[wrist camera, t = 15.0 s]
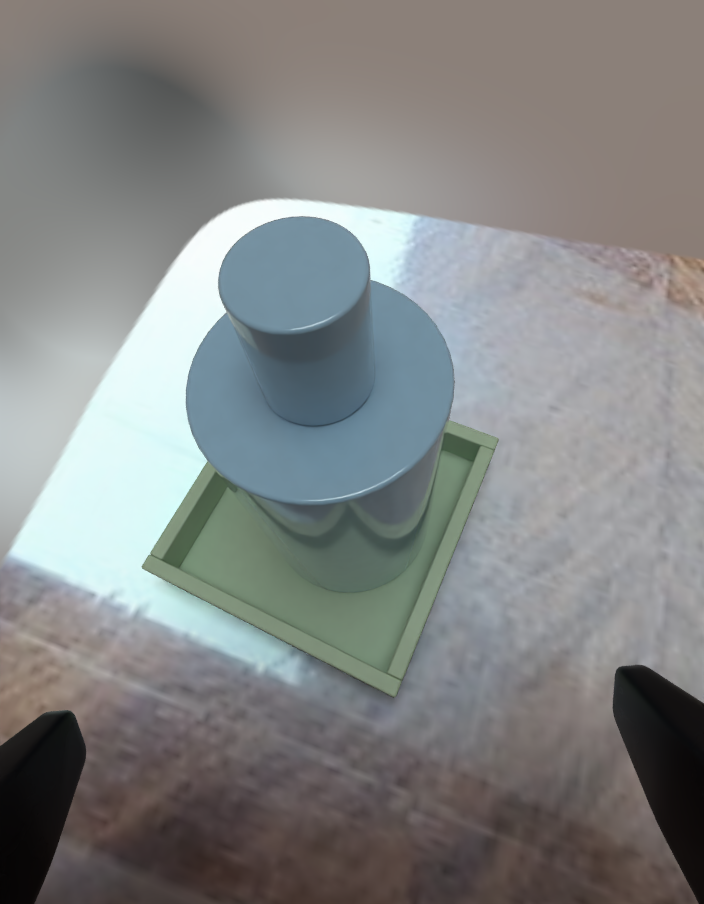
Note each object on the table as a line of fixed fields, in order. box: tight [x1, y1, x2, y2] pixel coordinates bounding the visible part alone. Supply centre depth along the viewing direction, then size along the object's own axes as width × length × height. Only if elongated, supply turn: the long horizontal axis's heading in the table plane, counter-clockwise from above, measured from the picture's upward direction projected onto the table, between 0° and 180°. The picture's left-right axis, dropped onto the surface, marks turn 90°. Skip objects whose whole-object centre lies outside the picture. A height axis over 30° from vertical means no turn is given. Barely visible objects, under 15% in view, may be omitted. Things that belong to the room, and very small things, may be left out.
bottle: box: [186, 216, 455, 593], centre depth 14 cm, size 6×6×12 cm
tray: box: [142, 420, 499, 698], centre depth 19 cm, size 9×9×2 cm
